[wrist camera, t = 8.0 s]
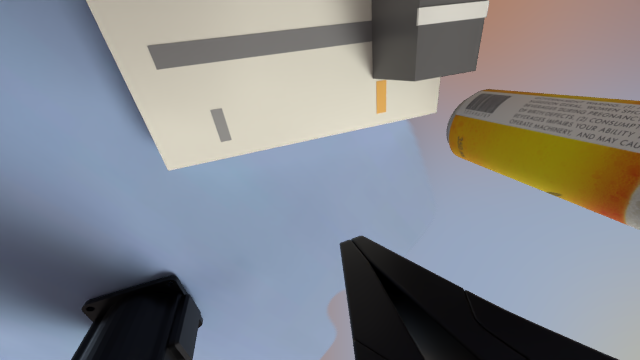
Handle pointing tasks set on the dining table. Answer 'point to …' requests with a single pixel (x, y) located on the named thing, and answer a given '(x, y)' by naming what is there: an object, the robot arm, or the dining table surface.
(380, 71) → the fader cap
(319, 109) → the fader console
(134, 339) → the robot arm
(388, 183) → the dining table surface
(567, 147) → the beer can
